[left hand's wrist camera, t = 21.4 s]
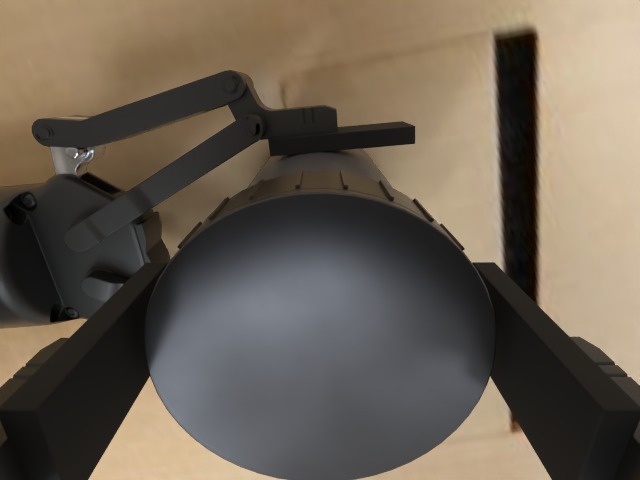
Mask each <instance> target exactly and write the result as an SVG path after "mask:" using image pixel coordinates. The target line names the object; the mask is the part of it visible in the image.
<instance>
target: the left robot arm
mask: <svg viewBox="0 0 640 480" xmlns="http://www.w3.org/2000/svg"><path fill="white" fill-rule="evenodd" d="M167 264H168V263H145V264H144V265H143V266H142V267H141V268H140V269H139V270H138V271H137V272H136V273H135V274H134V275H133V276H132V277H131V278H130V279H129V280H128V281H127V282H126V283H125V284H124V285H123V286H122V287H121V288H120V289H119V290H118V291H117V292H116V293H115V294H114V295H113V296H112V297H110V298H109V299H108V300H107V301H106V302H105V303H104V304H103V305H102V306H101V307H100V308H99V309H98V310H97V311H96V312H95V313H94V314H93V315H92V316H91V317H90V318H89V319H88V320H87V321H86V322H85V323H84V324H83V325H82V326H81V327H80V328H79V329H78V330H77V331H76V332H75V333H74V334H73V335H72V336H71V337H70V338H60V339H59V340H57V341H55V342H54V343H52V344H50V345H48V346H47V347H45V348H43V349H42V350H40V351H39V352H38V353H37V354H36V355H35V356H34V357H33V358H32V359H31V360H29V361H28V362H27V363H26V366H25V367H22V368H21V369H20V370H19V371H18V372H17V373H16V374H14V375H13V379H9V380H8V381H7V382H6V383H5V384H4V385H3V386H2V387H0V480H88V479H89V477H90V475H91V474H92V472H93V470H94V469H95V467H96V465H97V464H98V462H99V460H100V459H101V457H102V455H103V454H104V452H105V450H106V449H107V447H108V445H109V444H110V442H111V440H112V439H113V437H114V435H115V434H116V432H117V430H118V428H119V427H120V425H121V423H122V422H123V420H124V418H125V417H126V415H127V413H128V412H129V410H130V408H131V407H132V405H133V403H134V402H135V400H136V398H137V397H138V395H139V393H140V392H141V390H142V388H143V387H144V385H145V383H146V381H147V380H148V378H149V376H150V373H149V370H148V366H147V362H146V357H145V347H144V328H145V317H146V313H147V309H148V304H149V300H150V297H151V295H152V293H153V290H154V288H155V285H156V283H157V280H158V278H159V277H160V275H161V274H162V272H163V271H164V269H165V268H166V266H167ZM472 264H473V265H474V267H475V268H476V269H477V271H478V273H479V275H480V277H481V278H482V280H483V282H484V284H485V286H486V288H487V291H488V294H489V297H490V300H491V303H492V306H493V310H494V316H495V323H496V352H495V358H494V364H493V368H492V371H491V374H490V376H491V378H492V380H493V381H494V383H495V385H496V387H497V388H498V390H499V392H500V393H501V395H502V397H503V398H504V400H505V402H506V403H507V405H508V407H509V408H510V410H511V412H512V413H513V415H514V417H515V418H516V420H517V422H518V423H519V425H520V427H521V428H522V430H523V432H524V434H525V435H526V437H527V439H528V440H529V442H530V444H531V445H532V447H533V449H534V450H535V452H536V454H537V455H538V457H539V459H540V460H541V462H542V464H543V465H544V467H545V469H546V470H547V472H548V474H549V475H550V477H551V479H552V480H640V386H639V385H638V384H637V383H636V382H635V381H634V380H633V379H632V378H631V377H628V376H627V374H626V373H625V372H624V371H623V370H622V369H621V368H620V367H619V366H618V365H615V364H614V363H615V362H613V361H612V360H611V359H610V358H609V357H608V356H607V355H606V354H605V353H604V352H603V351H602V350H600V349H599V348H598V347H596V346H594V345H592V344H591V343H589V342H587V341H586V340H584V339H582V338H580V337H569V336H568V335H567V334H566V333H565V332H564V331H563V330H562V329H561V328H560V327H559V326H558V325H557V324H556V323H555V322H554V321H553V320H552V319H551V318H550V317H549V316H548V315H547V314H546V313H545V312H544V311H543V310H542V309H541V308H540V307H539V306H538V305H537V304H536V303H535V302H534V301H533V300H532V299H531V298H530V297H528V296H527V295H526V294H525V293H524V292H523V291H522V290H521V289H520V288H519V287H518V286H517V285H516V284H515V283H514V282H513V281H512V280H511V279H510V278H509V277H508V276H507V275H506V274H505V273H504V272H503V271H502V270H501V269H500V268H499V267H498V266H497V265H496V264H495V263H472Z"/></svg>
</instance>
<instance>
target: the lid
mask: <svg viewBox="0 0 640 480" xmlns="http://www.w3.org/2000/svg"><path fill="white" fill-rule="evenodd" d="M178 248H179V249H180V250H179V251H178V252H177V253H176V254H175V255H174V257H173V258H172V259H171V260H170V261H169V263H168V264H167V266H166V268H165V269H164V271H163V272H162V274H161V275H160V277H159V278H158V280H157V283H156V285H155V288H154V290H153V293H152V295H151V297H150V300H149V304H148V309H147V313H146V317H145V328H144V347H145V357H146V362H147V366H148V370H149V373H150V377H151V379H152V382H153V384H154V386H155V389H156V391H157V394H158V395H159V397H160V399H161V400H162V402H163V404H164V405H165V407H166V409H167V410H168V411H169V413H170V414H171V415H172V416H173V418H174V419H175V420H176V421H177V423H178V424H179V425H180V426H181V427H182V428H183V429H184V430H185V431H186V432H187V433H188V434H189V435H190V436H191V437H193V438H194V439H195V440H196V441H198V442H199V443H200V444H202V445H203V446H204V447H205V448H207V449H208V450H210V451H212V452H213V453H215V454H217V455H218V456H220V457H221V458H223V459H225V460H227V461H229V462H231V463H234V464H236V465H238V466H240V467H242V468H245V469H248V470H251V471H254V472H256V473H259V474H263V475H267V476H271V477H275V478H280V479H286V480H355V479H360V478H365V477H369V476H374V475H377V474H380V473H384V472H387V471H390V470H393V469H395V468H398V467H400V466H402V465H405V464H407V463H409V462H411V461H413V460H415V459H417V458H419V457H420V456H422V455H424V454H426V453H427V452H429V451H430V450H432V449H433V448H435V447H436V446H437V445H439V444H440V443H442V442H443V441H444V440H445V439H446V438H447V437H449V436H450V435H451V434H452V433H453V432H454V431H455V430H456V429H457V428H458V427H459V426H460V425H461V424H462V423H463V422H464V420H465V419H466V418H467V417H468V416H469V415H470V413H471V412H472V410H473V409H474V407H475V406H476V404H477V403H478V401H479V400H480V398H481V396H482V394H483V392H484V390H485V388H486V386H487V383H488V380H489V377H490V374H491V371H492V368H493V364H494V358H495V352H496V323H495V316H494V310H493V306H492V303H491V300H490V297H489V294H488V291H487V288H486V286H485V284H484V282H483V280H482V278H481V277H480V275H479V273H478V271H477V269H476V268H475V267H474V265H473V264H472V263H471V261H470V260H469V259H468V257H467V256H466V255H465V253H464V252H463V250H464V247H463V246H462V245H461V244H460V243H459V242H458V241H457V240H456V238H455V237H454V236H453V235H452V234H451V233H450V232H449V231H448V230H447V229H446V228H445V226H444V225H443V224H440V225H439V224H438V223H437V222H436V220H435V219H434V218H433V217H432V216H431V215H430V214H429V213H428V212H427V211H426V209H425V208H424V207H423V206H422V205H421V204H420V203H419V202H418V200H416V199H414V200H412V199H410V198H409V197H407V196H406V195H404V194H402V193H401V192H399V191H397V190H395V189H393V188H391V187H389V186H388V185H386V184H385V183H384V182H383V181H382V180H380V181H379V182H377V181H374V180H372V179H369V178H365V177H361V176H357V175H352V174H348V173H344V171H342V170H340V173H339V172H328V171H317V172H303V170H299V172H298V173H294V174H288V175H282V176H279V177H276V178H272V179H269V180H266V181H263V179H261V180H259V182H258V183H257V184H256V185H254V186H251V187H249V188H247V189H245V190H243V191H241V192H240V193H238V194H236V195H235V196H233V197H232V198H230V199H229V198H228V197H227V198H225V199H224V201H223V202H222V203H221V204H220V205H219V206H218V207H217V209H216V210H215V211H214V212H213V213H212V214H210V216H209V217H208V218H207V219H206V220H205V221H204V222H203V223H201V222H199V223H198V225H197V226H196V227H195V228H194V229H193V230H192V231H191V232H190V233H189V234H188V235H187V237H186V238H185V239H184V240H183V241H182V242H181V243H180V244H179V245H178Z"/></svg>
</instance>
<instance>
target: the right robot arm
mask: <svg viewBox="0 0 640 480" xmlns="http://www.w3.org/2000/svg"><path fill="white" fill-rule="evenodd" d="M226 105H228V106H229V108H230V110H231V112H232V113H233V115H234V117H235V119H236V121H235V122H233V123H232V124H230V125H229V126H227V127H226V128H224V129H223V130H221V131H220V132H218V133H217V134H215V135H214V136H212V137H211V138H209V139H208V140H206V141H204V142H203V143H201V144H200V145H198V146H197V147H195V148H194V149H192V150H191V151H189V152H188V153H186V154H185V155H183V156H182V157H180V158H179V159H177V160H176V161H174V162H172V163H171V164H169V165H168V166H166V167H165V168H163V169H162V170H160V171H159V172H157V173H156V174H154V175H153V176H151V177H150V178H148V179H147V180H145V181H143V182H142V183H140V184H139V185H137V186H136V187H134V188H132V189H131V190H129V191H127V192H126V191H124V190H122V189H120V188H118V187H116V186H114V185H112V184H110V183H109V182H107V181H105V180H103V179H101V178H99V177H97V176H95V175H93V174H91V173H89V172H87V165H88V163H89V162H90V161H92V160H96V159H99V158H100V157H102V155H103V154H104V150H105V148H106V145H105V144H107V143H111V142H115V141H119V140H123V139H127V138H130V137H133V136H136V135H139V134H142V133H145V132H148V131H151V130H154V129H157V128H160V127H163V126H166V125H169V124H172V123H175V122H178V121H181V120H184V119H187V118H190V117H193V116H196V115H199V114H202V113H205V112H208V111H211V110H214V109H217V108H220V107H223V106H226ZM32 133H33V136H34V138H35V139H36V140H37V141H38V142H39V143H40V144H42V145H44V146H48V147H50V149H51V153H52V158H53V163H54V168H55V173H56V175H55V176H53V177H51V178H50V179H49V180H47V181H46V182H45V183H39V184H28V185H17V186H6V187H0V328H14V327H27V326H41V325H51V324H56V323H61V322H65V321H69V320H74V319H80V318H81V319H89V318H90V317H91V316H92V315H93V314H94V313H95V312H96V311H97V310H98V309H99V308H100V307H101V306H102V305H103V304H104V303H105V302H106V301H107V300H108V299H109V298H110V297H112V296H113V295H114V294H115V293H116V292H117V291H118V290H119V289H120V288H121V287H122V286H123V285H124V284H125V283H126V282H127V281H128V280H129V279H130V278H131V277H132V276H133V275H134V274H135V273H136V272H137V271H138V270H139V269H140V268H141V267H142V266H143V265H144V264H145V263H169V261H170V256H169V252H168V250H167V248H166V246H165V244H164V243H163V241H162V239H161V228H162V225H161V221H160V217H159V213H158V212H153V210H152V209H151V208H153V207H154V206H156V205H157V204H159V203H161V202H162V201H164V200H165V199H167V198H168V197H170V196H172V195H173V194H175V193H176V192H178V191H179V190H181V189H183V188H184V187H186V186H187V185H189V184H190V183H192V182H194V181H195V180H197V179H198V178H200V177H201V176H203V175H205V174H206V173H208V172H209V171H211V170H212V169H214V168H216V167H217V166H219V165H220V164H222V163H224V162H225V161H227V160H228V159H230V158H231V157H233V156H235V155H236V154H238V153H239V152H241V151H242V150H244V149H246V148H247V147H249V146H250V145H252V144H253V143H255V142H257V141H258V140H262V139H268V141H269V148H270V156H282V155H293V154H304V153H316V152H327V151H338V150H349V149H360V148H371V147H383V146H394V145H405V144H415V126H413V125H410V124H408V123H405V122H403V121H402V122H392V123H381V124H370V125H359V126H348V127H337V113H336V109H335V108H333V107H329V106H326V105H318V106H307V107H297V108H286V109H270V108H268V107H266V106H265V105H264V104H263V103H262V102H261V100H260V99H259V97H258V95H257V93H256V91H255V89H254V86H253V82H252V80H251V78H250V77H249V76H248V75H247V74H244V73H240V72H236V71H231V70H229V71H224V72H221V73H218V74H215V75H212V76H209V77H206V78H203V79H200V80H198V81H195V82H192V83H189V84H186V85H183V86H180V87H177V88H174V89H172V90H169V91H166V92H163V93H160V94H157V95H154V96H151V97H148V98H145V99H143V100H140V101H137V102H134V103H131V104H128V105H125V106H122V107H119V108H117V109H114V110H111V111H108V112H105V113H102V114H99V115H96V116H78V115H74V116H65V117H55V118H45V119H38V120H36V121H35V122H34V123H33V125H32Z"/></svg>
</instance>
